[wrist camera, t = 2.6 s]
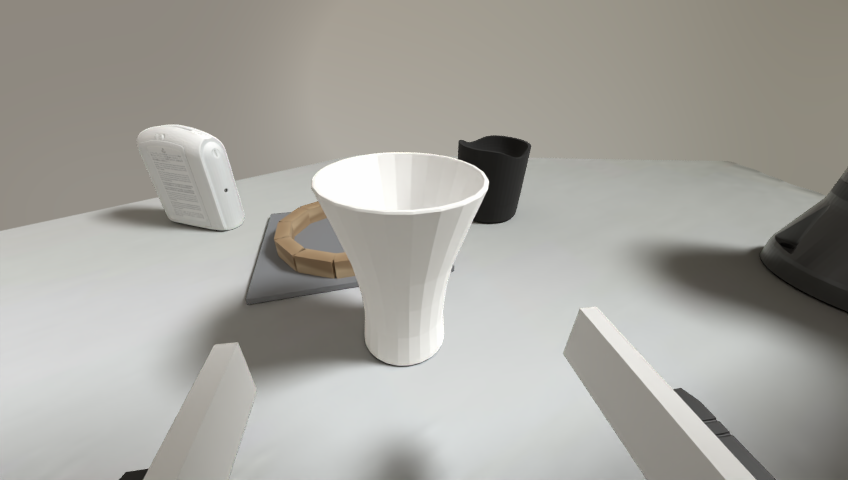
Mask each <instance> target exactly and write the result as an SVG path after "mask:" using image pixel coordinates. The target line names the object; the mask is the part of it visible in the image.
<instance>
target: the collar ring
mask: <svg viewBox="0 0 848 480" xmlns="http://www.w3.org/2000/svg"><path fill="white" fill-rule="evenodd" d="M325 218H327V216H326V215H325V213H324V211H323V209H322V207H321V205H320V204H319V202H318V201H317V202H314V203H311V204H308V205H304V206H301V207H300V208H297V209H296V210H294V211H293V212H291V213H290V214H289V215H287V216H286V217H284V218H283V219H281V220H280V221H279V222H278V224H277V229H276V233H275V237H274V241H275V245H276V249H277V253H278V256H279V257H280V258H281V259H282V260H284V261H285V262H286V263H287V264H288V265H289V266H290V267H291V268H293V269H294V270H295V271H298V272H299V273H304V274H310V275H316V276H321V277H327V278H332V279H334V278H335V277H337V279H339V278H345V277H352V276H355V273H354V270H353V267H352V265H351V263H350V261H349V259H348V257H347V255H346V253H345V252H343V253H330V252H324V251H318V250H312V249H305V248H304V247H303V246H301V245H300V244H299V243H297V242H296V241H295V240H294V239H295V236H296V235H297V234H299V233H300V232H301V231H302V230H303V229H305V228H306V227H307V226H308V225H309V224H311V223H314V222H317V221H320V220H322V219H325Z"/></svg>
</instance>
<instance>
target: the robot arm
mask: <svg viewBox="0 0 848 480" xmlns="http://www.w3.org/2000/svg"><path fill="white" fill-rule="evenodd" d="M760 257H761V260H762V262H763V263H764V264H765V265H766V267H767V268H768V269H770V270H771V271H772V272H773V273H774V274H776V275H777V276H778V277H780V278H781V279H783V280H784V281H786V282H787V283H789V284H791V285H792V286H794V287H796V288H798V289H799V290H801V291H803V292H805V293H807V294H809V295H811V296H813V297H815V298H817V299H819V300H821V301H824V302H826V303H828V304H830V305H833V306H835V307H838V308H840V309H842V310H845V311H848V168H847V169H846V170H845V172H844V173H843V175H842V176H841V177H840V179H839V180H838V181H837V183H836V184H835V186H834V187H833V189H832V190H831V191H830V193H829V194H828V195H827V196H826V197H825V198H824V199H823V200H821V201H820V202H818V203H817V204H816V205H814V206H813V207H812V208H810V209H809V210H807V211H806V212H805V213H803V214H802V215H800V216H799V217H798V218H796V219H795V220H793V221H792V222H791V223H789V224H788V225H787V226H785V227H784V228H782V229H781V230H780V231H778V232H777V233H775V234H774V235H773V236H772V237H771V238H770V239H769V241H768V242H767V244H766V245H765V247H764V248H763V250H762V251H761V253H760ZM563 354H564V356H565V357H566V359H567V360H568V362H569V363H570V365H571V366H572V368H573V369H574V371H575V372H576V374H577V375H578V377H579V378H580V380H581V381H582V383H583V384H584V386H585V387H586V389H587V390H588V392H589V393H590V395H591V396H592V398H593V399H594V401H595V402H596V404H597V405H598V407H599V408H600V410H601V411H602V413H603V415H604V416H605V418H606V419H607V421H608V422H609V424H610V425H611V427H612V428H613V430H614V431H615V433H616V434H617V436H618V437H619V439H620V440H621V442H622V443H623V445H624V446H625V448H626V449H627V451H628V452H629V454H630V455H631V457H632V458H633V460H634V461H635V463H636V464H637V466H638V467H639V469H640V470H641V472H642V473H643V475H644V476H645V478H646V479H647V480H776V479H775V478H774V477H773V476H772V475H771V474H770V473H769V472H768V471H767V470H766V469H765V468H764V467H763V466H762V465H761V464H760V463H759V462H758V461H757V460H756V459H755V458H754V457H753V456H752V455H751V454H750V453H749V451H748V450H747V449H746V448H745V447H744V446H743V445H742V444H741V443H740V442H739V441H738V440H737V439H736V438H735V437H734V436H733V435H730V433H729V431H728V430H727V429H726V428H725V427H724V426H723V425H722V424H721V423H720V422H718V421H717V420H716V417H715V416H714V415H713V414H712V413H711V412H710V411H709V410H708V409H707V408H706V407H705V406H704V405H703V404H702V403H701V402H700V401H699V400H697V399H696V398H694V397H693V396H692V395H690V394H689V393H687V392H686V391H685V390H683V389H682V388H679V389H672V388H671V387H670V386H669V385H668V383H667V382H666V381H665V380H664V379H663V378H662V377H661V376H660V375H659V374H658V373H657V372H656V370H655V369H654V368H653V367H652V366H651V365H650V364H649V363H648V362H647V361H646V360H645V359H644V357H643V356H642V355H641V354H640V353H639V352H638V351H637V350H636V349H635V348H634V347H633V346H632V344H631V343H630V342H629V341H628V340H627V339H626V338H625V337H624V336H623V335H622V334H621V333H620V331H619V330H618V329H617V328H616V327H615V326H614V325H613V324H612V323H611V322H610V321H609V320H608V318H607V317H606V316H605V315H604V314H603V313H602V312H601V311H600V310H599V309H598V308H597V307H588V308H580V309H579V312H578V315H577V317H576V320H575V323H574V325H573V328H572V331H571V333H570V336H569V339H568V341H567V344H566V347H565V349H564V352H563ZM256 393H257V389H256V386H255V384H254V381H253V379H252V376H251V374H250V371H249V369H248V366H247V363H246V361H245V358H244V356H243V353H242V351H241V348H240V346H239V343H238V342H235V343H225V344H215V345H214V346H213V348H212V350H211V352H210V354H209V356H208V357H207V359H206V361H205V363H204V365H203V367H202V369H201V371H200V373H199V374H198V376H197V378H196V380H195V382H194V384H193V386H192V388H191V390H190V392H189V393H188V395H187V397H186V399H185V401H184V403H183V405H182V407H181V409H180V411H179V412H178V414H177V416H176V418H175V420H174V422H173V424H172V426H171V428H170V430H169V431H168V433H167V435H166V437H165V439H164V441H163V443H162V445H161V447H160V449H159V450H158V452H157V454H156V456H155V458H154V460H153V462H152V464H151V466H150V468H149V469H144V470H137V471H131V472H126V473H125V474H124V475H123V476H122V477H121V478H120V479H119V480H229V476H230V473H231V470H232V467H233V464H234V461H235V458H236V455H237V452H238V449H239V446H240V443H241V440H242V436H243V433H244V430H245V427H246V424H247V421H248V418H249V415H250V412H251V409H252V406H253V403H254V400H255V396H256Z"/></svg>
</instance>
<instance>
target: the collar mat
mask: <svg viewBox="0 0 848 480" xmlns="http://www.w3.org/2000/svg"><path fill="white" fill-rule="evenodd" d="M290 213H291V212H287V213H277V214H271V216H270V220H269V223H268V226H267V230H266V233H265V236H264V240H263V243H262V246H261V250H260V253H259V256H258V260H257V263H256V266H255V270H254V273H253V276H252V280H251V283H250V286H249V290H248V293H247V297H246V302H247V305H248V304H254V303H260V302H266V301H272V300H279V299H285V298H291V297H297V296H303V295H309V294H316V293H322V292H328V291H334V290H340V289H346V288H353V287H359V285H358V282H357V279H356V276H352V277H345V278H339V279H337V277H335V278H334V279H332V278H327V277H321V276H316V275H310V274H304V273H299V272H298V271H295V270H294V269H293V268H291V267H290V266H289V265H288V264H287V263H286V262H285V261H284V260H282V259H281V258H280V257H279V256H278V253H277V249H276V245H275V241H274V237H275V233H276V229H277V224H278V222H279V221H280V220H281V219H283V218H284V217H286V216H287V215H289V214H290ZM294 240H295V241H296V242H297V243H299V244H300V245H301V246H303V247H304V248H305V249H312V250H318V251H324V252H330V253H343V252H345V251H344V249H343V247H342V245H341V243H340V241H339V239H338V237H337V235H336V233H335V231H334V230H333V228H332V226H331V224H330V222H329V220H328V218H325V219H322V220H320V221H317V222H314V223H311V224H309V225H308V226H307V227H306V228H305V229H303V230H302V231H301V232H300V233H299V234H297V235H296V236H295V239H294ZM451 271H454V266H452V269H451Z"/></svg>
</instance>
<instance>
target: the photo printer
mask: <svg viewBox="0 0 848 480" xmlns="http://www.w3.org/2000/svg"><path fill="white" fill-rule="evenodd" d="M137 148H138V151H139V153H140V155H141V158H142V160H143V162H144V164H145V167H146V169H147V171H148V173H149V176H150V178H151V180H152V182H153V185H154V187H155V190H156V192H157V194H158V196H159V199H160V201H161V203H162V206H163V208H164V210H165V213H166V215H167V216H168V218H169V219H170V220H171V221H174V222H178V223H183V224H188V225H193V226H198V227H203V228H208V229H214V230H232V229H235V228H237V227H239V226H240V225H242V224H243V220H244V219H245V215H244V211H243V207H242V203H241V200H240V197H239V193H238V190H237V187H236V183H235V180H234V177H233V173H232V170H231V166H230V163H229V160H228V156H227V153H226V150H225V148H224V146H223V144H222V143H221V142H220V141H219V140H218V139H217V138H215V137H214V136H212V135H210V134H208V133H206V132H203V131H201V130H198V129H195V128H191V127H187V126H182V125H162V126H155V127H151V128H147V129H145V130H143V131H141V132H140V133H139V135H138V137H137Z"/></svg>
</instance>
